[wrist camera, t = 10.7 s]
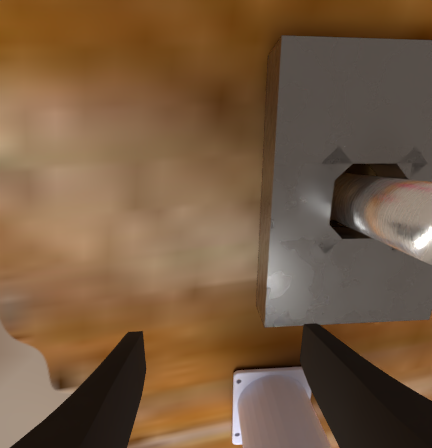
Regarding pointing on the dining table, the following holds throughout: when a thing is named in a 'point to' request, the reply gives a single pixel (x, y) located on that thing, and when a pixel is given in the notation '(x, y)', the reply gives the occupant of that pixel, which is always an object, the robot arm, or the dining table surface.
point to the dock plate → (331, 169)
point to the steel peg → (387, 211)
